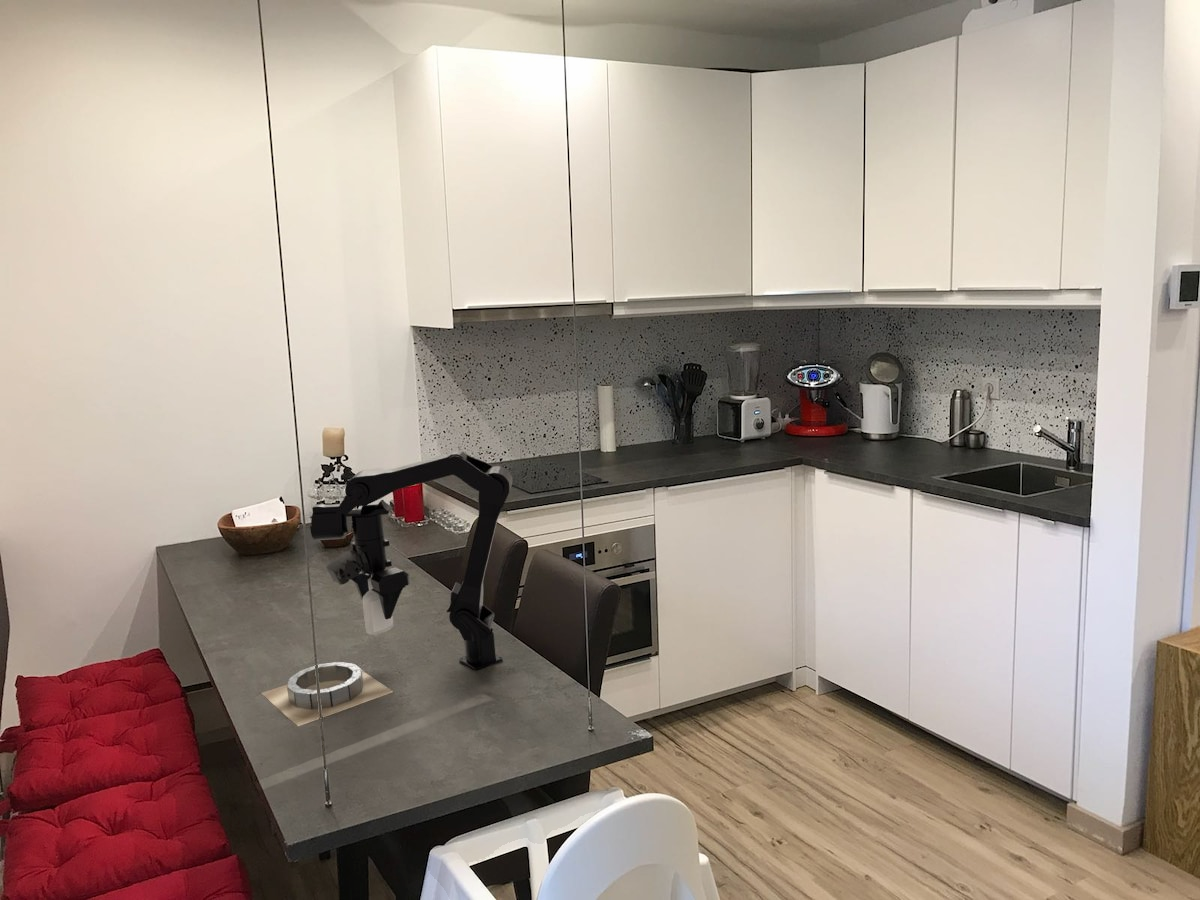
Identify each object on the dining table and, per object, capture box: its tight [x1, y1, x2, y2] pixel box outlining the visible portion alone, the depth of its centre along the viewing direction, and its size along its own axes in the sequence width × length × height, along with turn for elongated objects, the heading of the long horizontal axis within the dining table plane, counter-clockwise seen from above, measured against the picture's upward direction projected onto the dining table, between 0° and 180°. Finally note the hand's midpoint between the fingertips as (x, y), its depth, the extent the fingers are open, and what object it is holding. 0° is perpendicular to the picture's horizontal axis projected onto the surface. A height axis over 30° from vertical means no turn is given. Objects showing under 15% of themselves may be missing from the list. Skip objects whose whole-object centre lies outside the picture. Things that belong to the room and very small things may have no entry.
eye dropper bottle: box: [361, 575, 394, 636], centre depth 184 cm, size 4×6×12 cm
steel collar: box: [286, 661, 363, 710], centre depth 173 cm, size 13×13×3 cm
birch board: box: [261, 670, 394, 727], centre depth 174 cm, size 18×18×1 cm
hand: (378, 613), depth 184 cm, fingers closed on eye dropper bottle, 8 cm apart
